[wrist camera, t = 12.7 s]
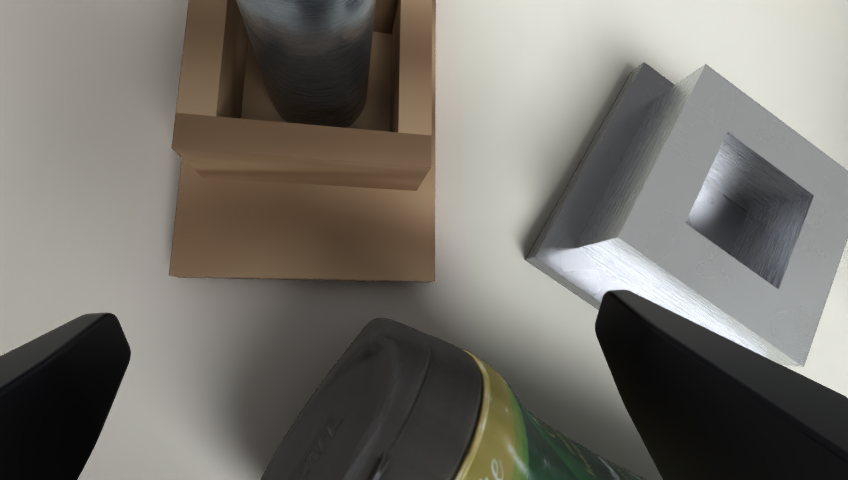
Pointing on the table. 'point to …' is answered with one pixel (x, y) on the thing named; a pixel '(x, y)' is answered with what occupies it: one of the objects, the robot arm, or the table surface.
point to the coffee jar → (424, 420)
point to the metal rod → (313, 56)
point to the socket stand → (703, 214)
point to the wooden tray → (305, 161)
